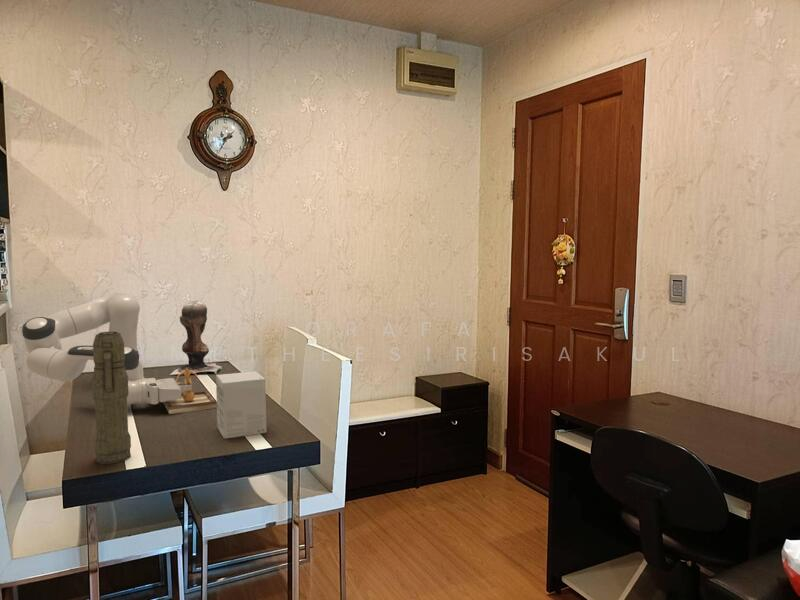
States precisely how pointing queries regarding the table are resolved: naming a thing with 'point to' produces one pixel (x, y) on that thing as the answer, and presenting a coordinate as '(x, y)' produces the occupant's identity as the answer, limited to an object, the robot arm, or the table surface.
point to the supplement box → (241, 404)
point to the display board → (191, 403)
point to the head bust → (195, 339)
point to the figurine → (189, 394)
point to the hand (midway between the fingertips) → (190, 386)
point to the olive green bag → (110, 399)
